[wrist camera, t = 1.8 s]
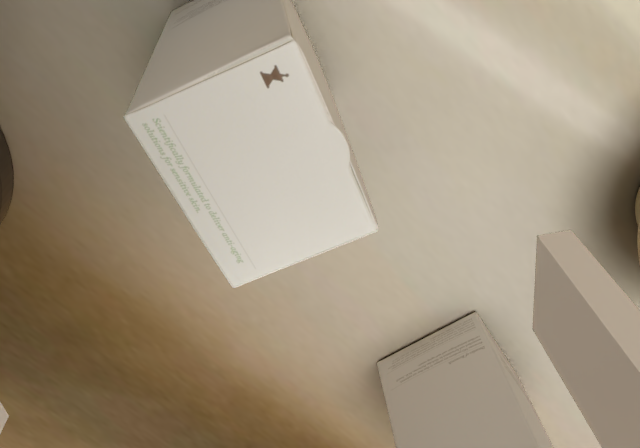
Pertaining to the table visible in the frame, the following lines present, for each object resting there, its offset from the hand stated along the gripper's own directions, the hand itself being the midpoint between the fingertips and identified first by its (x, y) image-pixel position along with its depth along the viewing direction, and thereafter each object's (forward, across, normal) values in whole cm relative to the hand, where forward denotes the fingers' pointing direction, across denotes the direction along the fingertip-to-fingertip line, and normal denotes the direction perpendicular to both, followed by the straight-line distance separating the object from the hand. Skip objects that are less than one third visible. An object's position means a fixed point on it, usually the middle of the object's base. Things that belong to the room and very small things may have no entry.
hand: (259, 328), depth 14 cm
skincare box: (+24, 0, 0) cm, 24 cm away
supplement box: (+24, +10, -27) cm, 37 cm away
